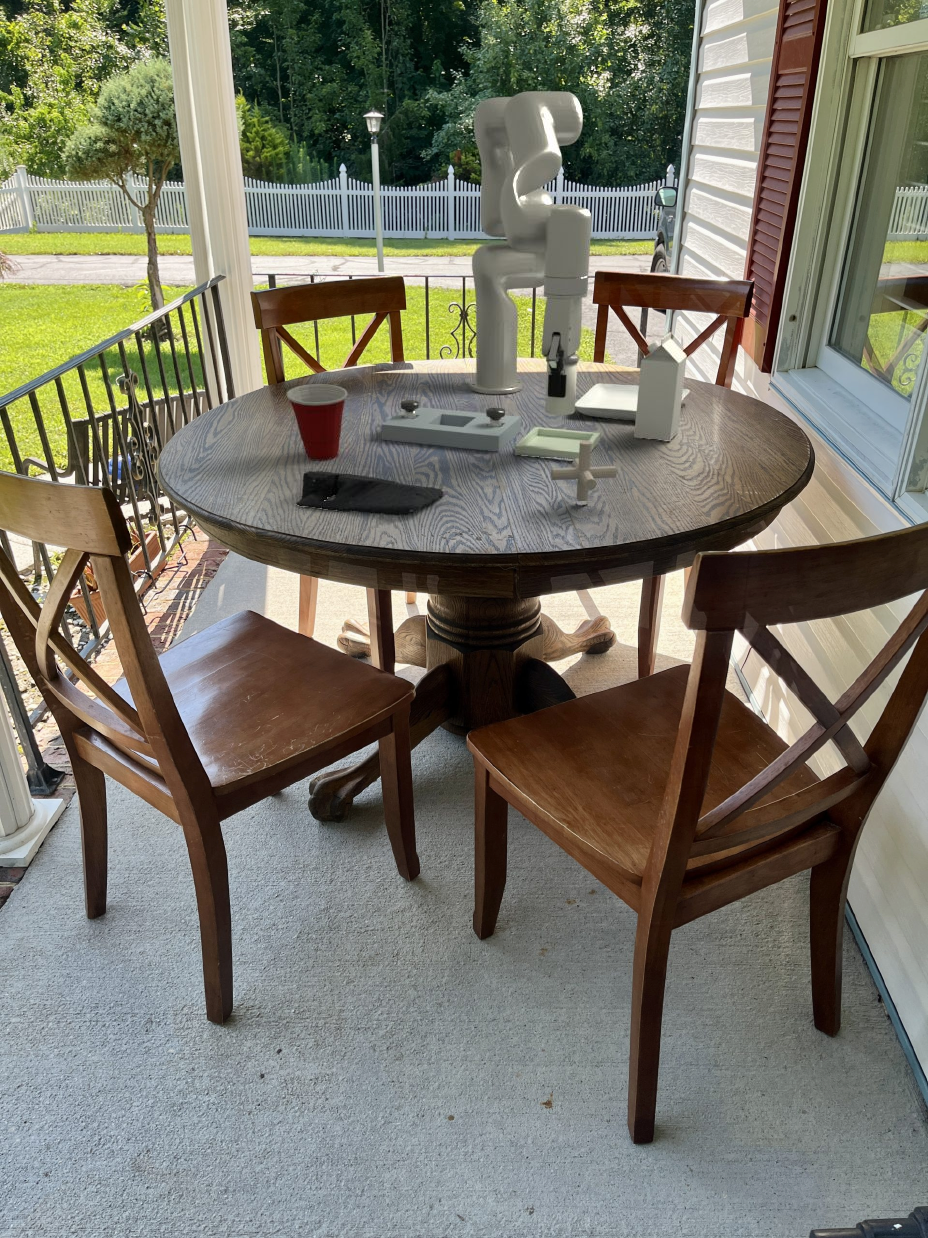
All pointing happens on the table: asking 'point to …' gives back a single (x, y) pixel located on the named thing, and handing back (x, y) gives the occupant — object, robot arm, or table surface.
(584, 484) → the pipe connector
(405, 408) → the plunger
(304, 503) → the dark slate chunk
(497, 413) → the plunger
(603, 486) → the table surface
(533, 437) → the tray
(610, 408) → the salad plate
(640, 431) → the milk carton
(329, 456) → the plastic cup
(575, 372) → the cartridge
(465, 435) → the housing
